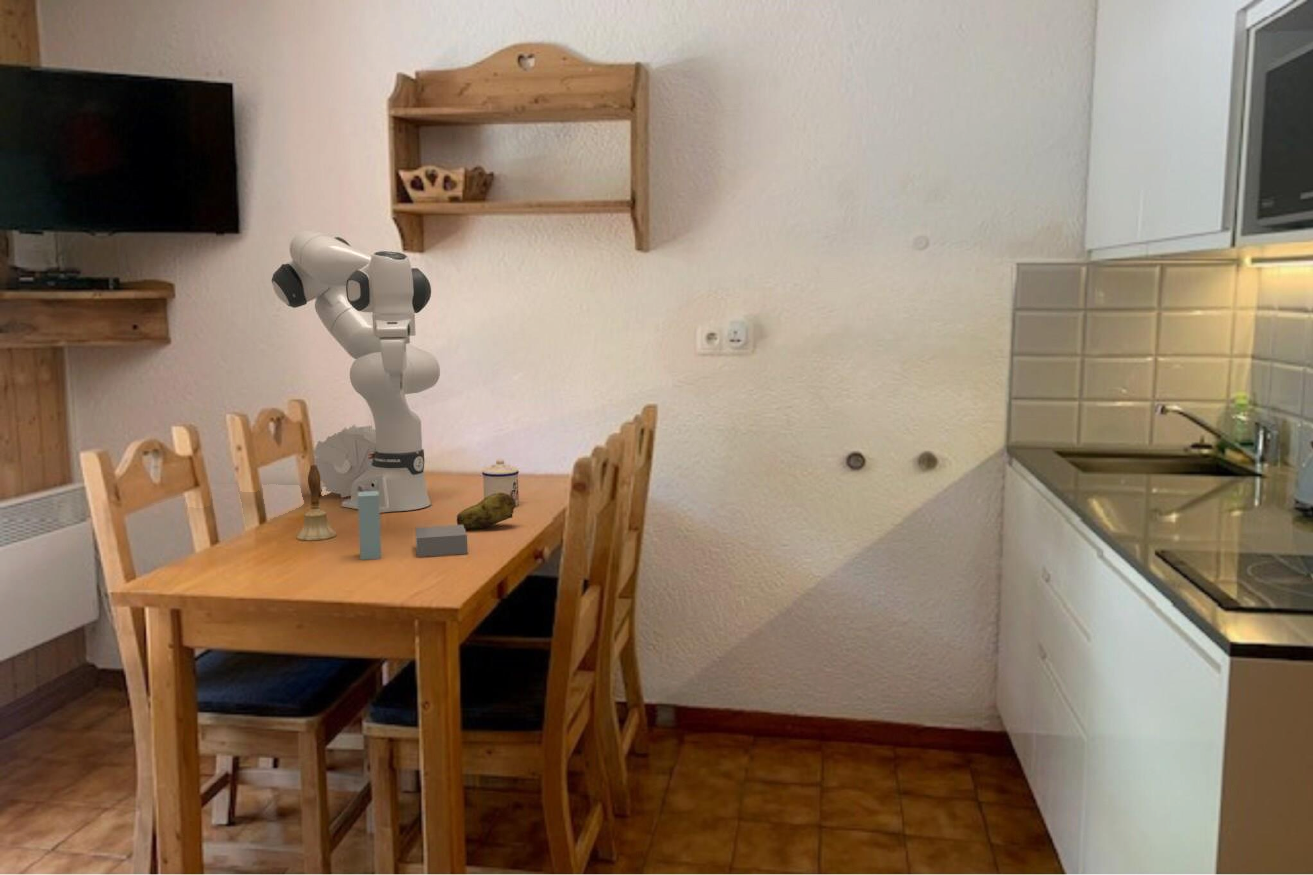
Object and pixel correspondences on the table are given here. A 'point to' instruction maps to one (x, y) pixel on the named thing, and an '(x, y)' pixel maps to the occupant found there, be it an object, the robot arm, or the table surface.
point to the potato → (487, 512)
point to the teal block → (369, 525)
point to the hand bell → (315, 513)
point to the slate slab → (441, 540)
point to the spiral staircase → (345, 458)
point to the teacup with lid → (501, 480)
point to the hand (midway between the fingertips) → (397, 392)
